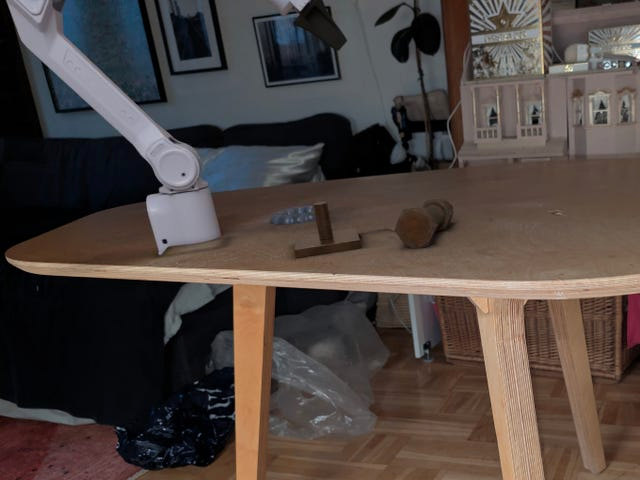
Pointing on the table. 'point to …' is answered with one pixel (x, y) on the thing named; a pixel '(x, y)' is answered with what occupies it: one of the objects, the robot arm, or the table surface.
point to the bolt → (423, 222)
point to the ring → (293, 215)
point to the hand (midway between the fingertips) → (340, 45)
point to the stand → (325, 236)
